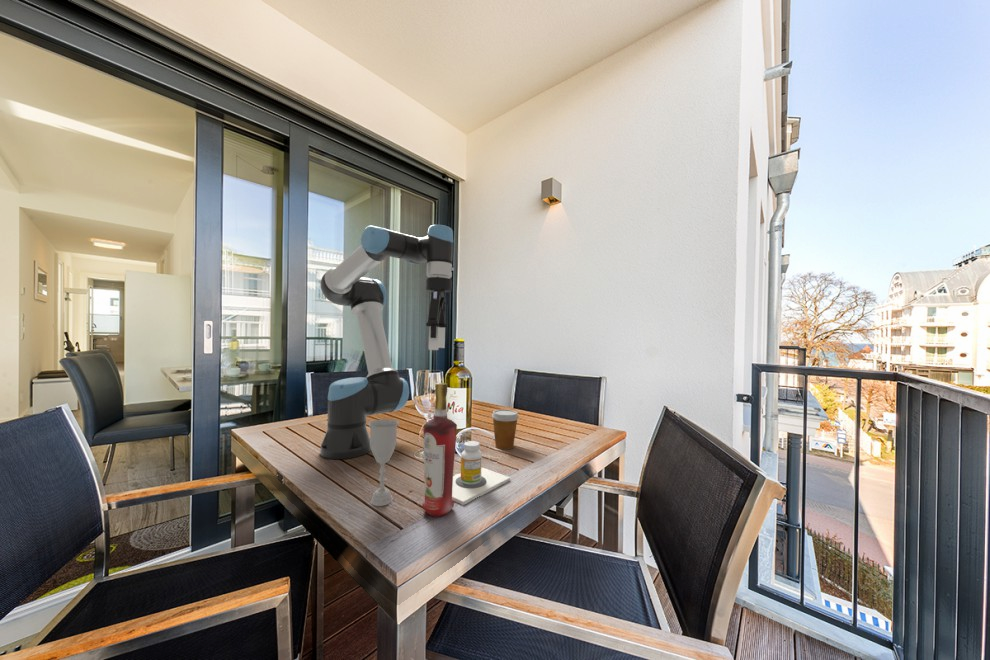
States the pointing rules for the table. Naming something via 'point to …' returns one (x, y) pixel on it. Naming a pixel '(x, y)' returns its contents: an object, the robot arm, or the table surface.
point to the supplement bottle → (471, 463)
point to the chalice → (382, 454)
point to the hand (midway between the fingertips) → (437, 348)
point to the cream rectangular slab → (476, 486)
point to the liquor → (439, 457)
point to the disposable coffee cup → (504, 428)
